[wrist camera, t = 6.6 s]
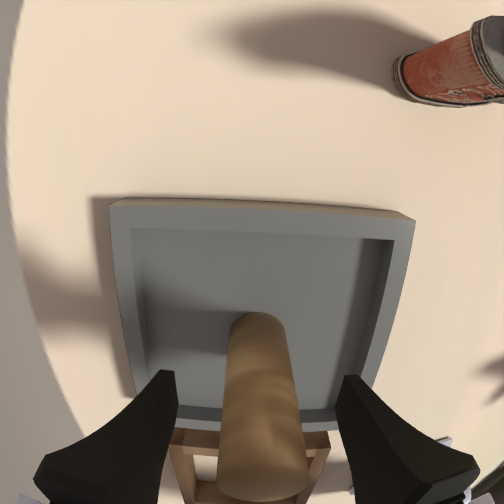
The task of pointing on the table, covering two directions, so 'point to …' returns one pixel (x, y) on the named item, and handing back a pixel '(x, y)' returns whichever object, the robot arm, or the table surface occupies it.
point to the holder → (207, 443)
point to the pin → (260, 415)
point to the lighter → (456, 69)
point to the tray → (256, 293)
